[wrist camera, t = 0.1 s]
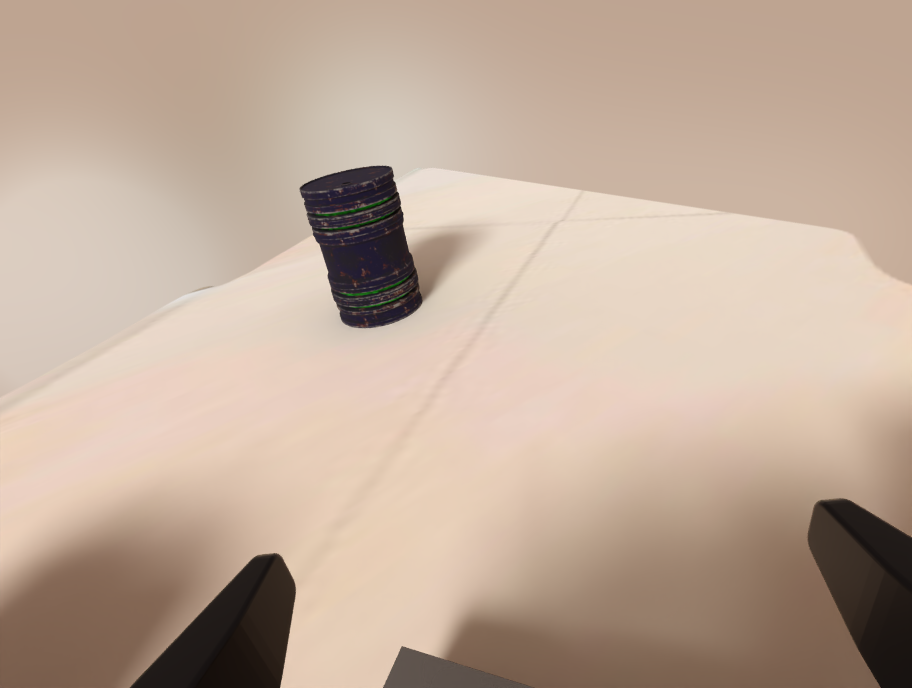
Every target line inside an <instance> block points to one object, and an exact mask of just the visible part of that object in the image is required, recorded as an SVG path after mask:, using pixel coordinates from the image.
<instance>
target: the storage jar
mask: <svg viewBox="0 0 912 688" xmlns="http://www.w3.org/2000/svg"><path fill="white" fill-rule="evenodd" d="M393 177H394V175H393V170H392V168H391V167H389V166H369V167H362V168H356V169H351V170H346V171H341V172H338V173H333V174H330V175H326V176H323V177H320V178H317V179H315V180H312V181H310V182H308V183H306V184H304V185H303V186H301V187H300V192H301V195H302V197H303V198H304V200H305V202H304V205H305V208H306V211H307V212H308V213H307V217H308V220H309V223H310V225H311V226H312V230H313V236H314V237H315V239H316V241H317V242H318V243H319V244H320V247H321V250H322V254H323V257H324V260H325V263H326V266H327V269H328V279H329V283H330V286H331V292H332V295H333V298H334V301H335V302H336V304H337V307H338V309H339V310H340V317H341V320H342V322H343V323H344V324H346V325H348V326H350V327H355V328H373V327H379V326H384V325H388V324H391V323H394V322H397V321H399V320H402V319H404V318H406V317H408V316H409V315H411V314H412V313H414V312H415V311H416V310H417V309H418V308H419V307H420V305H421V303H422V297H421V294H420V292H419V284H418V275H417V271H416V268H415V267H414V262H413V258H412V255H411V253H409V249H408V245H407V241H406V236H405V232H404V228H403V221H404V218H403V212H402V210H401V206H400V205H401V201H400V197H399V193H398V192H397V188H396V183H395V182H394V181H393Z"/></svg>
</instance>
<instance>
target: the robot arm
mask: <svg viewBox="0 0 912 688" xmlns="http://www.w3.org/2000/svg"><path fill="white" fill-rule="evenodd" d="M808 544H809V547H810V550H811V552H812V555H813V557H814V559H815V561H816V563H817V565H818V567H819V569H820V571H821V573H822V576H823V578H824V580H825V582H826V584H827V586H828V588H829V590H830V592H831V594H832V597H833V599H834V601H835V603H836V605H837V607H838V609H839V611H840V613H841V615H842V618H843V620H844V622H845V624H846V626H847V628H848V630H849V632H850V634H851V636H852V638H853V640H854V642H855V644H856V646H857V648H858V650H859V652H860V653H861V655H862V657H863V659H864V660H865V662H866V664H867V666H868V667H869V669H870V670H871V672H872V674H873V675H874V677H875V679H876V680H877V682H878V684H879V685H880V687H881V688H912V537H910V536H909V535H907V534H905V533H904V532H902V531H900V530H899V529H897V528H895V527H894V526H892V525H890V524H889V523H887V522H885V521H884V520H882V519H880V518H879V517H877V516H875V515H874V514H872V513H870V512H869V511H867V510H865V509H864V508H862V507H860V506H859V505H857V504H855V503H854V502H852V501H850V500H847V499H841V498H839V499H829V500H820V501H818V502H817V503H816V504H815V505H814V508H813V513H812V517H811V522H810V526H809V531H808ZM295 595H296V586H295V582H294V579H293V577H292V576H291V574H290V572H289V570H288V568H287V566H286V564H285V562H284V560H283V558H282V557H281V556H280V555H279V554H277V553H273V554H262V555H258V556H256V557H254V558H253V559H252V560H251V561H250V562H249V563H248V564H247V565H246V566H245V567H244V568H243V569H242V570H241V571H240V572H239V573H238V574H237V575H236V576H235V577H234V579H233V580H232V581H231V582H230V583H229V584H228V585H227V586H226V587H225V588H224V589H223V590H222V591H221V592H220V593H219V594H218V595H217V596H216V597H215V599H214V600H213V601H212V602H211V603H210V604H209V605H208V606H207V607H206V608H205V609H204V610H203V611H202V612H201V613H200V614H199V615H198V616H197V617H196V618H195V620H194V621H193V622H192V623H191V624H190V625H189V626H188V627H187V628H186V629H185V630H184V631H183V632H182V633H181V634H180V635H179V636H178V637H177V638H176V639H175V641H174V642H173V643H172V644H171V645H170V646H169V647H168V648H167V649H166V650H165V651H164V652H163V653H162V654H161V655H160V656H159V657H158V658H157V659H156V660H155V662H154V663H153V664H152V665H151V666H150V667H149V668H148V669H147V670H146V671H145V672H144V673H143V674H142V675H141V676H140V677H139V678H138V679H137V680H136V682H135V683H134V684H133V685H132V686H131V687H130V688H280V685H281V680H282V675H283V669H284V663H285V657H286V651H287V645H288V639H289V633H290V626H291V620H292V614H293V608H294V602H295Z"/></svg>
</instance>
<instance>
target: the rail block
mask: <svg viewBox="0 0 912 688" xmlns="http://www.w3.org/2000/svg"><path fill="white" fill-rule="evenodd" d="M383 688H533V687H530V686H527V685H524V684H520V683H517V682H514V681H511V680H508V679H504V678H501V677H498V676H495V675H492V674H489V673H485V672H482V671H479V670H476V669H473V668H470V667H466V666H463V665H460V664H457V663H454V662H451V661H447V660H444V659H441V658H438V657H435V656H432V655H428V654H425V653H422V652H419V651H416V650H412V649H409V648H406V647H403V646H402V647H401V649H400V652H399V654H398V656H397V658H396V660H395V663H394V665H393V667H392V669H391V671H390V674H389V676H388V678H387V680H386V683H385V685H384V687H383Z"/></svg>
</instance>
